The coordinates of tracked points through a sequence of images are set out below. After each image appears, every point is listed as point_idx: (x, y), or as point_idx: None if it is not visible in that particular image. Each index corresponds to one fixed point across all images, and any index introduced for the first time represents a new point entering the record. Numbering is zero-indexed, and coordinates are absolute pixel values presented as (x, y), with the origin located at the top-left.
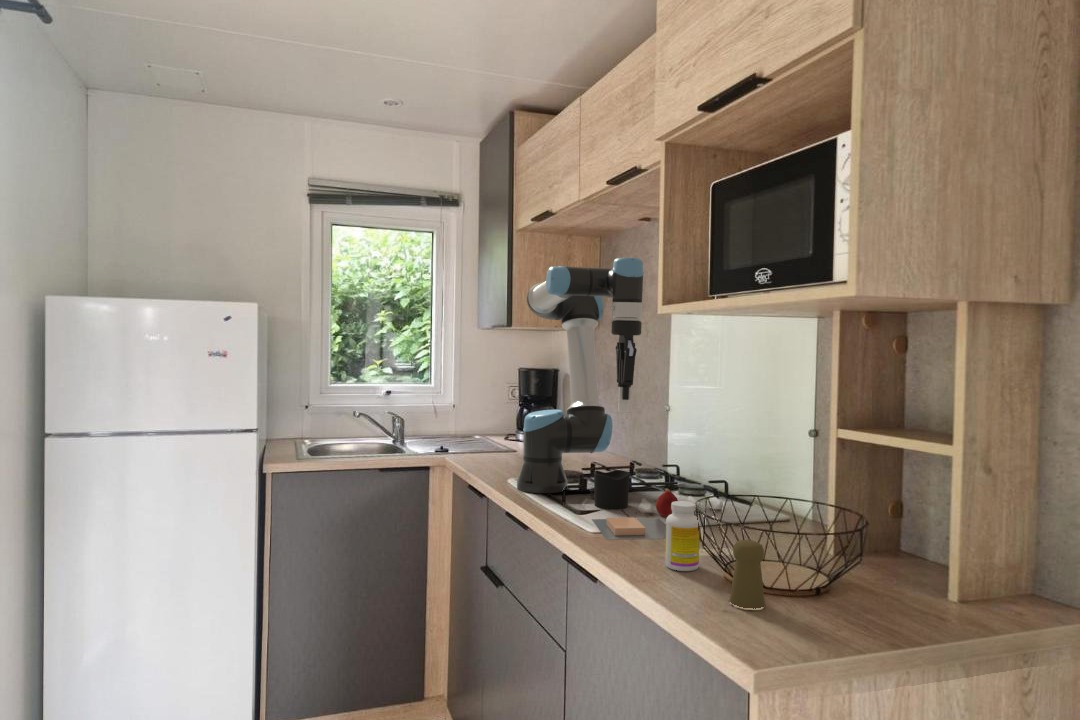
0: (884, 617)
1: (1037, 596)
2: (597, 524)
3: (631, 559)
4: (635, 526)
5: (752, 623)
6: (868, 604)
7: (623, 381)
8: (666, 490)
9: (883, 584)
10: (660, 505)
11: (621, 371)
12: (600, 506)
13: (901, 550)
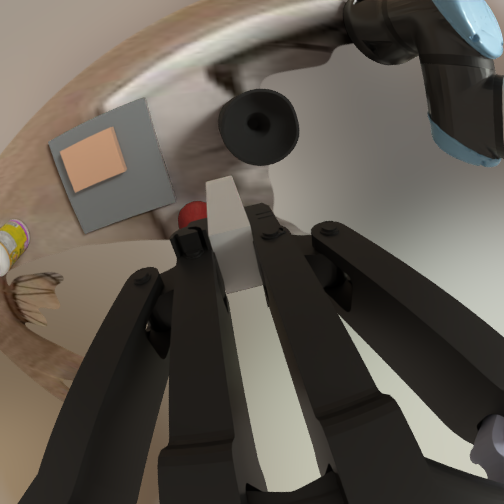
0: (14, 343)
1: None
2: (115, 112)
3: (17, 181)
4: (76, 178)
5: None
6: (26, 343)
7: (123, 289)
8: None
9: (66, 361)
10: (182, 210)
11: (200, 326)
12: (225, 104)
13: None
